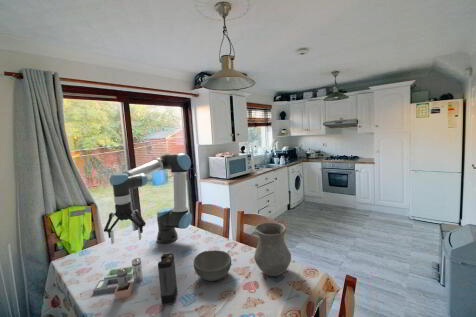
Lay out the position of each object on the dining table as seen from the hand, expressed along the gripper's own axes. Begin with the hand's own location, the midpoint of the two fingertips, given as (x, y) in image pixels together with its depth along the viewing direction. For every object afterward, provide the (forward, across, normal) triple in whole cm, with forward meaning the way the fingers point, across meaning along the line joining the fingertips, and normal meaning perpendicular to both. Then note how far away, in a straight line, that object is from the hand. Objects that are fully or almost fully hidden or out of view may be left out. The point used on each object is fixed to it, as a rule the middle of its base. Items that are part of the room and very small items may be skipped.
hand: (126, 240), depth 121 cm
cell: (+22, -5, +4) cm, 23 cm away
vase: (+22, -76, +21) cm, 81 cm away
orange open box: (+22, 0, +13) cm, 25 cm away
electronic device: (+22, -21, +23) cm, 38 cm away
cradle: (+22, +9, +4) cm, 24 cm away
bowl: (+22, -44, +13) cm, 51 cm away
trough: (+22, +6, -4) cm, 23 cm away
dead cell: (+21, 0, +13) cm, 25 cm away
